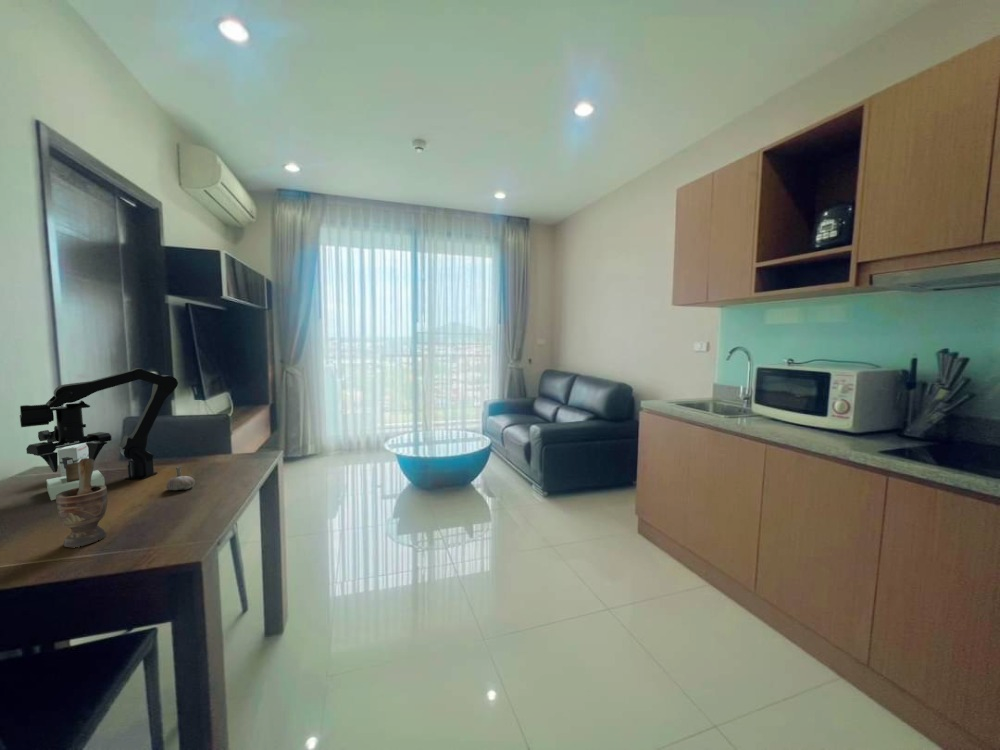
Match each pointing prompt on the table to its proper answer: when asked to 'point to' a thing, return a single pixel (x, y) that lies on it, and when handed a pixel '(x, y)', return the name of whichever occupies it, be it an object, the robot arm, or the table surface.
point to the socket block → (70, 484)
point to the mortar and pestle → (83, 508)
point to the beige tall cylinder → (72, 472)
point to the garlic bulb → (180, 482)
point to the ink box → (71, 455)
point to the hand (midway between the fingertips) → (73, 467)
